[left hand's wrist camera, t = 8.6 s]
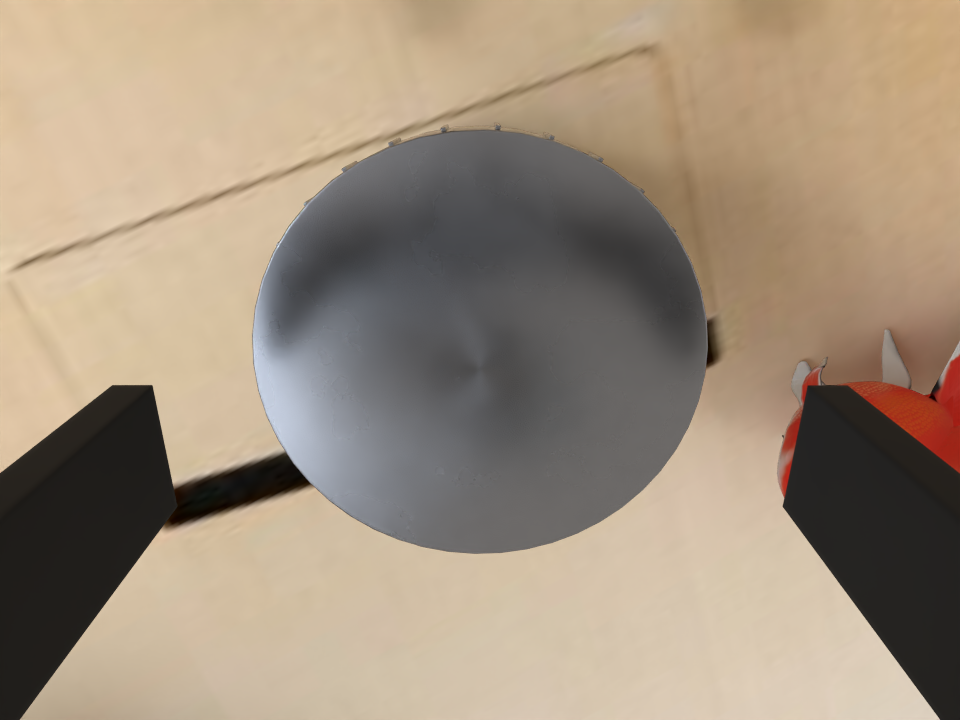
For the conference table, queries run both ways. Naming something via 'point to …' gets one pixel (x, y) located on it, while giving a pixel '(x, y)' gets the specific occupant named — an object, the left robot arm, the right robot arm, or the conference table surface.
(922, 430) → the fish
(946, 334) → the conference table surface
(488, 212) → the lid
